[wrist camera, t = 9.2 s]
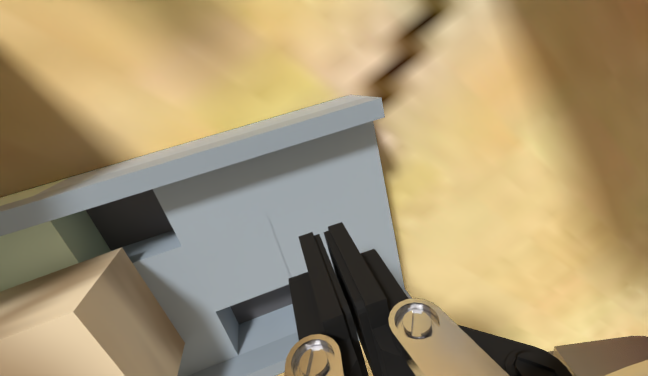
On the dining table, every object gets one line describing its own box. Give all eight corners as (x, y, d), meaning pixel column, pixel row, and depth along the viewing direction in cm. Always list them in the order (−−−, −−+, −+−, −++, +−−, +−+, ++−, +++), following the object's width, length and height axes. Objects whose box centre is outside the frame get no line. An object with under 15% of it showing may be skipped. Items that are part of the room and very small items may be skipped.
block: (122, 247, 13) (73, 311, 9) (184, 343, 15) (165, 425, 11) (-29, 301, 12) (-146, 395, 8) (62, 394, 14) (-1, 500, 11)
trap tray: (350, 94, 16) (407, 99, 10) (388, 274, 20) (441, 345, 15) (-53, 213, 13) (-269, 306, 8) (93, 389, 18) (24, 529, 12)
